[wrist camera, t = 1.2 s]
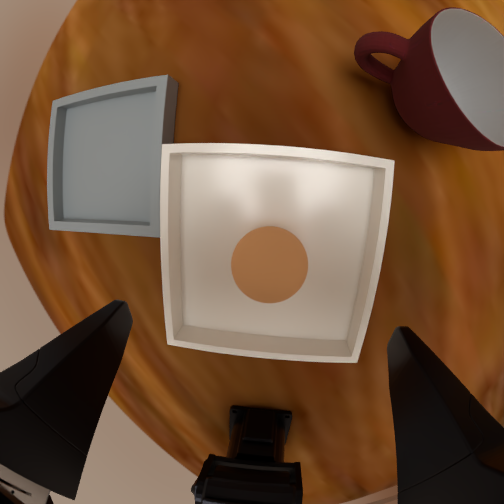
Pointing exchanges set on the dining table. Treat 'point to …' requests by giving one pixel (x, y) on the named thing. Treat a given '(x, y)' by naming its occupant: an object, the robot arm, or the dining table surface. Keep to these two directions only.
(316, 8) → the dining table surface
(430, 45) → the mug
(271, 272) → the ball
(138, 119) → the tray
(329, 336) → the dish
